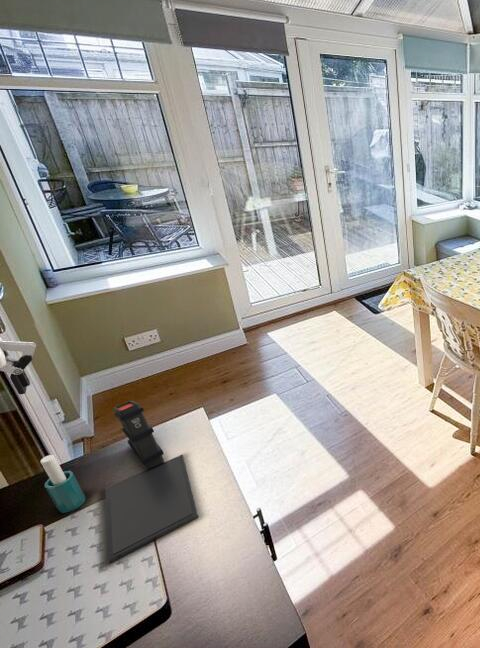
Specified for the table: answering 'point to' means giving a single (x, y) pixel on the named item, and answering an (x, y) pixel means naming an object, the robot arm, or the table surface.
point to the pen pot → (66, 493)
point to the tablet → (148, 507)
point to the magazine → (139, 434)
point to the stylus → (53, 470)
